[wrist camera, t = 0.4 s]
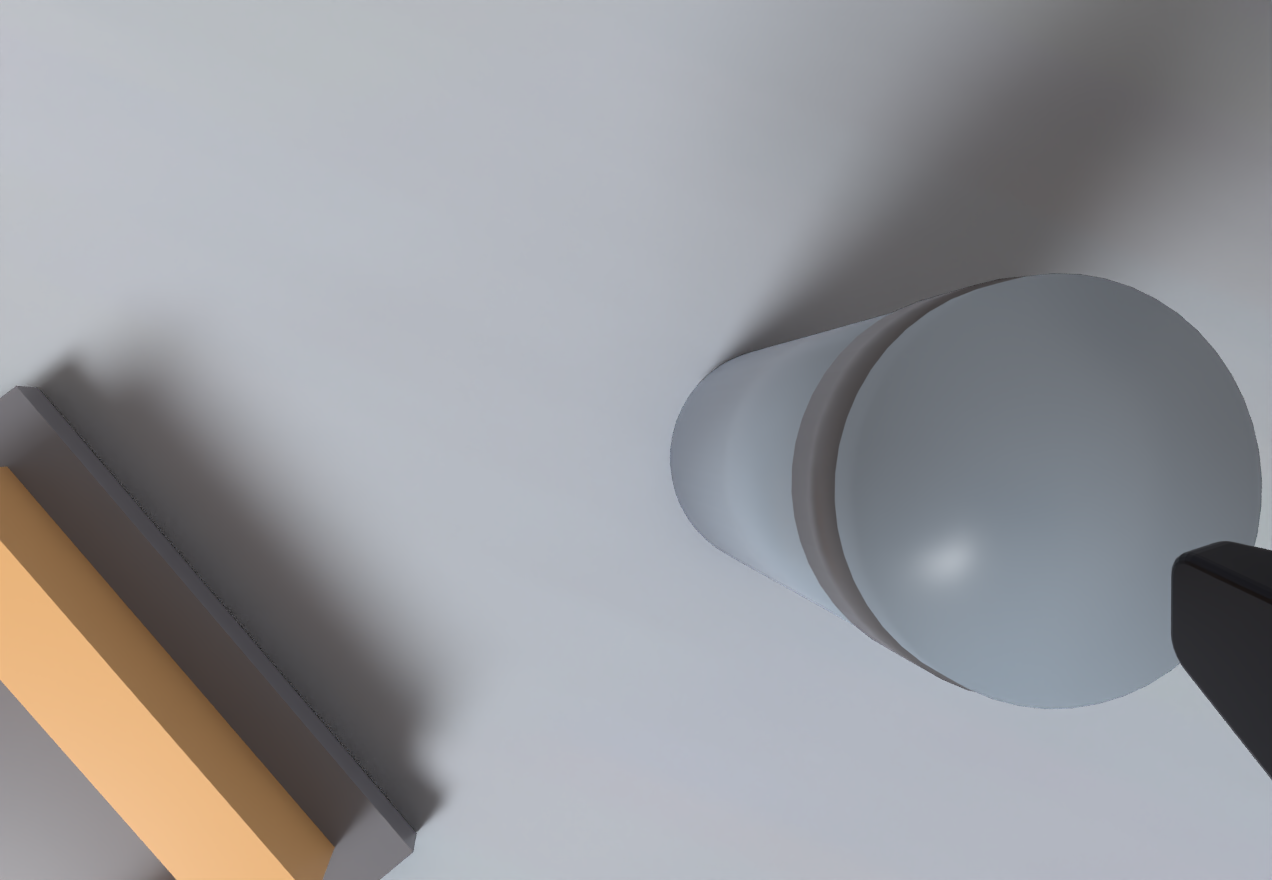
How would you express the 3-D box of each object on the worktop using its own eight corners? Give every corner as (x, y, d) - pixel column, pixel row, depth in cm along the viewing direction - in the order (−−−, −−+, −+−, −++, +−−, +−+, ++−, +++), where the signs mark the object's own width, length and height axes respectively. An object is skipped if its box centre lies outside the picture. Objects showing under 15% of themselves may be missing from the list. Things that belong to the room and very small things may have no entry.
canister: (842, 598, 24) (1185, 768, 12) (636, 527, 23) (785, 633, 11) (913, 390, 24) (1321, 358, 12) (711, 314, 24) (933, 202, 12)
